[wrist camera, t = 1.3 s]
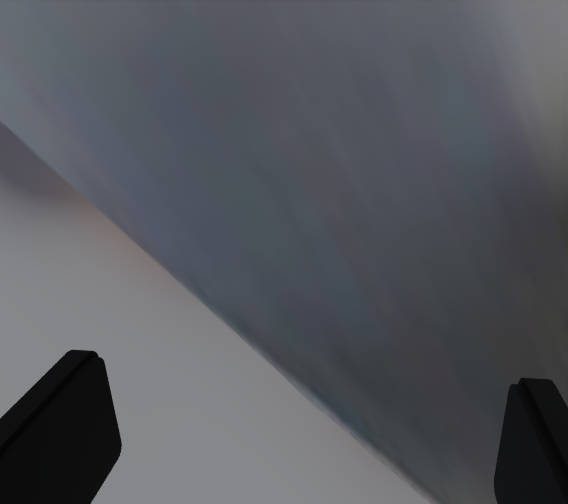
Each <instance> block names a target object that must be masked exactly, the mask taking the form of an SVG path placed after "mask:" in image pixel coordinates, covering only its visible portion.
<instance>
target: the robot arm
mask: <svg viewBox="0 0 568 504" xmlns="http://www.w3.org/2000/svg"><path fill="white" fill-rule="evenodd" d="M121 446H122V444H121V438H120V433H119V428H118V424H117V419H116V415H115V410H114V405H113V400H112V396H111V391H110V386H109V381H108V377H107V372H106V367H105V363H104V360H103V359H102V358H99V357H98V354H97V353H96V352H94V351H85V350H84V351H83V350H70V351H68V352H67V353H66V354H65V355H64V356H63V357H62V358H61V359H60V360H59V361H58V362H57V363H56V364H55V365H54V366H53V367H52V368H51V369H50V370H49V371H48V372H47V373H46V374H45V375H44V376H43V377H42V378H41V379H40V380H39V381H38V382H37V383H36V384H35V385H34V386H33V387H32V388H31V389H30V390H29V391H28V392H27V393H26V394H25V395H24V396H23V397H22V398H21V399H20V400H19V401H18V402H17V403H16V404H14V405H13V406H12V407H11V408H10V410H8V412H7V413H6V414H5V415H3V416H2V418H0V504H91V502H92V500H93V499H94V497H95V496H96V494H97V492H98V491H99V489H100V488H101V486H102V484H103V483H104V481H105V479H106V478H107V476H108V475H109V473H110V471H111V470H112V468H113V466H114V465H115V463H116V461H117V460H118V458H119V456H120V453H121ZM494 491H495V496H496V500H497V503H498V504H568V407H567V405H566V404H565V402H564V400H563V398H562V397H561V395H560V393H559V391H558V389H557V388H556V386H555V384H554V383H553V381H552V380H549V379H534V378H521V379H520V380H519V383H518V384H511V385H510V387H509V392H508V398H507V404H506V410H505V416H504V422H503V428H502V434H501V440H500V446H499V452H498V458H497V464H496V470H495V476H494Z"/></svg>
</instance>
